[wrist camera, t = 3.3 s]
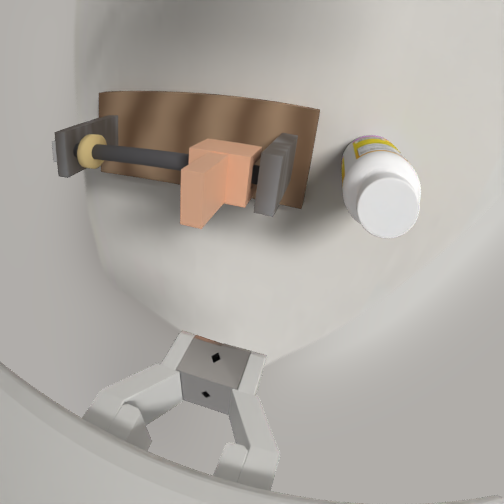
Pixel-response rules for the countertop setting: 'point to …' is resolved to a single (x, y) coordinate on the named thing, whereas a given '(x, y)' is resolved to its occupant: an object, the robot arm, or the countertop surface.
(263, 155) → the towel rod holder
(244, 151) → the peach stepped block
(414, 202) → the supplement bottle
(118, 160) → the dark gray rod
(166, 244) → the countertop surface
